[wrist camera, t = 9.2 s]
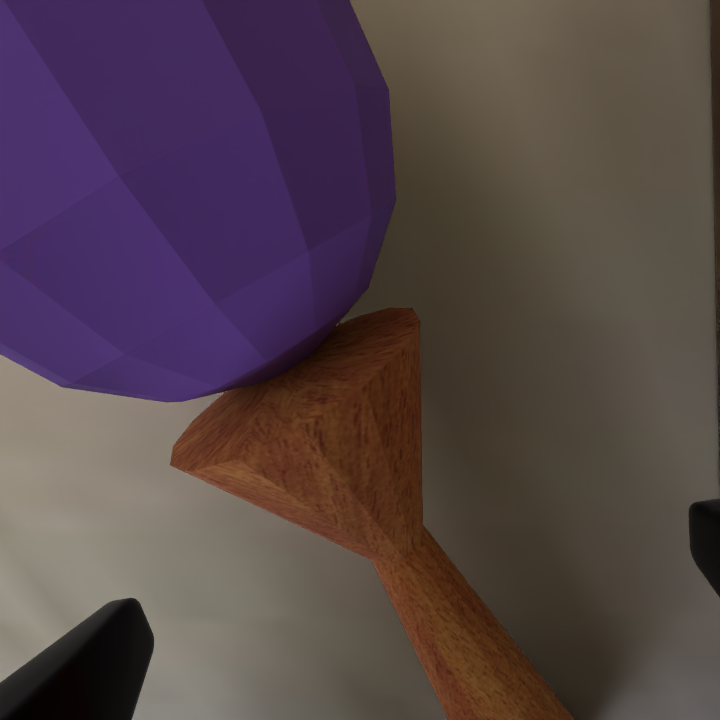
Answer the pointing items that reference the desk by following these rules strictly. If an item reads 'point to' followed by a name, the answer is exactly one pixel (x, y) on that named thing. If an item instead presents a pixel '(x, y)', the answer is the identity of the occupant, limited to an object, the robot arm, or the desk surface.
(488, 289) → the desk surface
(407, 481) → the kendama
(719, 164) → the wooden tray
